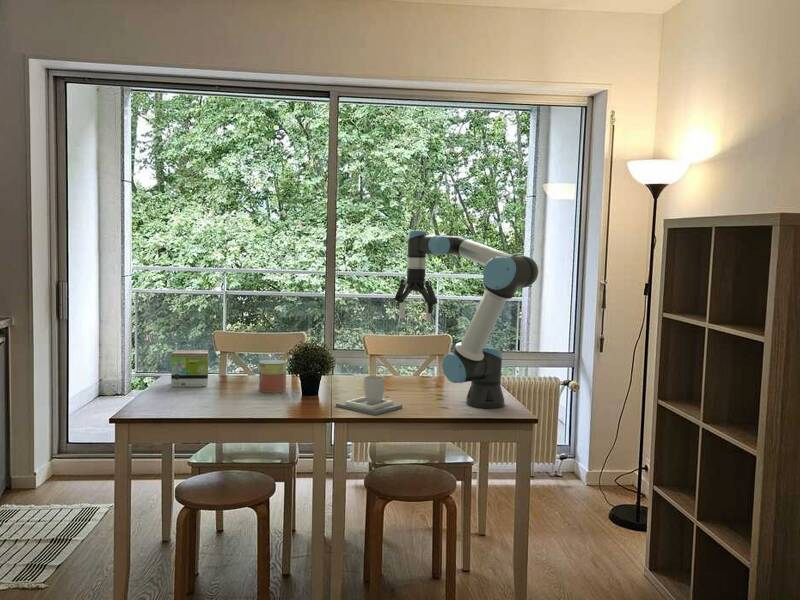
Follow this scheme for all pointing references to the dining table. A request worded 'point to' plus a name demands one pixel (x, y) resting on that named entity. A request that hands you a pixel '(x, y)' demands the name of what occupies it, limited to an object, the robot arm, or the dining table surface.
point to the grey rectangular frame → (369, 406)
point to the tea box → (189, 368)
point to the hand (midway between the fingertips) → (414, 319)
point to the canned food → (272, 375)
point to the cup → (374, 389)
